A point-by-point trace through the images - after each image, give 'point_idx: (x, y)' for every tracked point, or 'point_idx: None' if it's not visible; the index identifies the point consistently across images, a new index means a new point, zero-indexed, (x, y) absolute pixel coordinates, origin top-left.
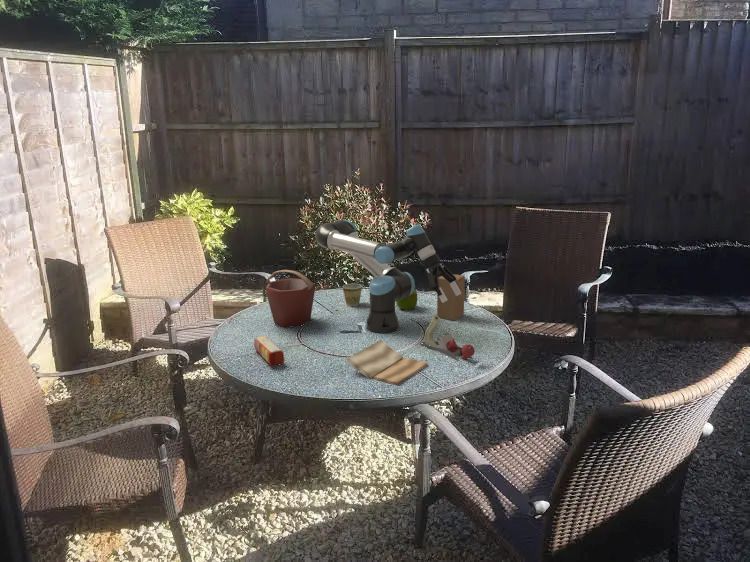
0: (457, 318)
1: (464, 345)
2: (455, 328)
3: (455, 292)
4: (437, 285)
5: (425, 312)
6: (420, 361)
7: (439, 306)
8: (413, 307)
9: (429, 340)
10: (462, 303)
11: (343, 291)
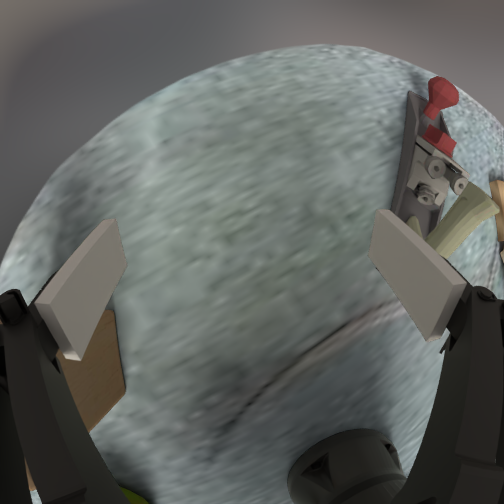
0: None
1: (454, 94)
2: (198, 262)
3: (114, 274)
4: (493, 305)
5: (111, 445)
6: (501, 196)
7: (105, 401)
8: (121, 487)
9: None
10: None
11: None
